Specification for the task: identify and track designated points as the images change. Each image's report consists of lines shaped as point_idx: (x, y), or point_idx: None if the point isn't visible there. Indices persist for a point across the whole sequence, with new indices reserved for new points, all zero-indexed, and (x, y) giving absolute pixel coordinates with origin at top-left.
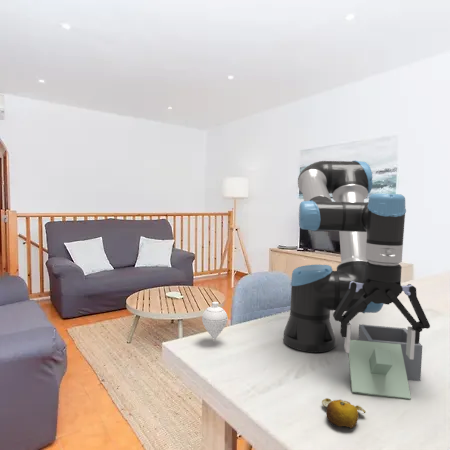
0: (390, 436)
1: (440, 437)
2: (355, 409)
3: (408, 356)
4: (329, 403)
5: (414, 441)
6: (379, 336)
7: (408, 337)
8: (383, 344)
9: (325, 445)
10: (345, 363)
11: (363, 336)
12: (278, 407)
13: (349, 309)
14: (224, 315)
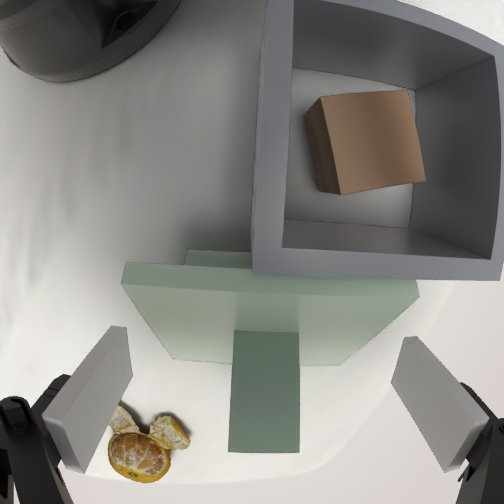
0: (229, 469)
1: (325, 457)
2: (160, 477)
3: (397, 368)
4: (109, 460)
5: (269, 473)
6: (373, 37)
7: (438, 407)
8: (329, 299)
9: (121, 480)
10: (191, 130)
11: (260, 115)
12: (32, 402)
13: (21, 500)
14: None
